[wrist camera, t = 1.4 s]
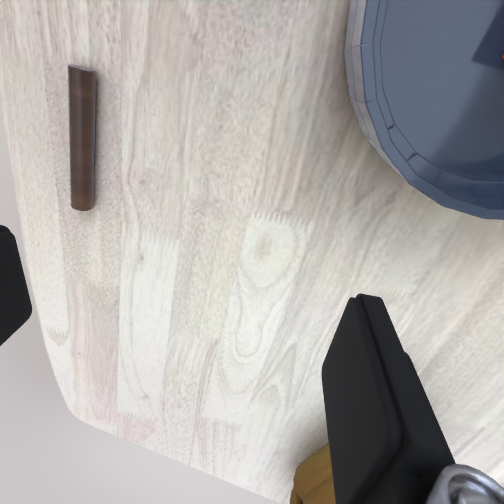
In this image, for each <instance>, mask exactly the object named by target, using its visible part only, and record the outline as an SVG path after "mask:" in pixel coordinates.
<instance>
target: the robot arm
mask: <svg viewBox="0 0 504 504" xmlns="http://www.w3.org/2000/svg"><path fill="white" fill-rule="evenodd" d="M31 313H32V305H31V301H30V297H29V293H28V289H27V285H26V280H25V276H24V272H23V268H22V264H21V260H20V257H19V252H18V248H17V243H16V240H15V237H14V235H13V234H12V233H11V232H10V230H9V229H8V228H7V227H5V226H2V225H0V346H1V345H2V344H3V343H4V342H5V341H6V340H7V339H8V338H9V337H10V336H11V335H12V334H13V333H14V332H16V330H18V329H19V328H20V327H21V326H22V325H23V324H24V323H25V322H26V321H27V320H28V319H29V317H30V315H31ZM322 385H323V394H324V403H325V412H326V421H327V430H328V439H329V448H330V457H331V466H332V475H333V484H334V493H335V502H336V504H504V488H502V487H501V486H500V485H499V484H498V483H497V482H496V481H495V480H494V479H492V478H490V477H489V476H487V475H486V474H484V473H483V472H481V471H480V470H477V469H475V468H472V467H470V466H467V465H461V464H456V463H455V461H454V459H453V456H452V454H451V452H450V449H449V447H448V445H447V442H446V440H445V438H444V435H443V433H442V431H441V428H440V426H439V424H438V421H437V419H436V417H435V414H434V412H433V410H432V407H431V405H430V403H429V400H428V398H427V396H426V393H425V391H424V389H423V386H422V384H421V382H420V379H419V377H418V375H417V372H416V370H415V368H414V365H413V363H412V361H411V359H410V357H409V355H408V354H407V353H405V352H404V350H403V348H402V345H401V343H400V341H399V338H398V336H397V333H396V331H395V329H394V326H393V324H392V321H391V319H390V317H389V314H388V312H387V309H386V307H385V305H384V302H383V300H382V298H380V297H376V296H371V295H365V294H358V295H357V296H356V298H353V297H351V298H350V299H349V300H348V302H347V305H346V307H345V310H344V312H343V315H342V317H341V320H340V322H339V325H338V327H337V330H336V332H335V335H334V338H333V340H332V343H331V345H330V348H329V350H328V353H327V355H326V358H325V360H324V363H323V366H322Z"/></svg>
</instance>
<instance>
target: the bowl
mask: <svg viewBox="0 0 504 504" xmlns="http://www.w3.org/2000/svg"><path fill="white" fill-rule="evenodd" d="M503 54H504V0H350V8H349V16H348V23H347V31H346V39H345V47H344V56H345V65H346V75H347V84H348V94H349V98H350V101H351V104H352V106H353V109H354V111H355V114H356V117H357V119H358V122H359V124H360V127H361V130H362V132H363V134H364V136H365V137H366V138H367V139H368V141H369V142H370V143H371V145H372V146H373V147H374V148H375V150H376V151H377V152H378V153H379V155H380V156H381V157H382V159H383V160H384V161H385V162H386V163H387V164H388V165H389V166H390V167H391V168H392V169H393V170H395V171H396V172H397V173H398V174H399V175H400V176H401V177H402V178H403V179H404V180H405V181H407V182H408V183H409V184H410V185H412V186H413V187H415V188H416V189H418V190H419V191H421V192H422V193H423V194H425V195H426V196H428V197H429V198H431V199H432V200H434V201H435V202H437V203H438V204H440V205H441V206H444V207H446V208H450V209H453V210H456V211H460V212H463V213H466V214H469V215H473V216H476V217H479V218H482V219H498V220H504V60H503V59H502V56H503Z"/></svg>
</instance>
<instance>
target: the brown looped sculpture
mask: <svg viewBox="0 0 504 504" xmlns="http://www.w3.org/2000/svg"><path fill="white" fill-rule="evenodd" d="M293 481H294V487H293V490H292V492H291V497H290V504H336V502H335V493H334V484H333V475H332V466H331V457H330V448H329V443H328V444H327V445H325V446H323V447H322V448H320V449H319V450H317V451H316V452H315V453H313V454H312V455H310V456H309V457H308V458H306V459H305V460H304V461H303V462H302V463H301V464H300V465H299V466H298V467H297V469H296V472H295V475H294V480H293Z"/></svg>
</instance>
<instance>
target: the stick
mask: <svg viewBox="0 0 504 504" xmlns="http://www.w3.org/2000/svg"><path fill="white" fill-rule="evenodd" d="M68 87H69V135H70V182H71V206H72V208H74V209H76V210H80V211H88V210H91V209H93V207H94V156H95V101H96V71H95V70H93V69H90V68H87V67H83V66H79V65H72V64H70V65H68Z"/></svg>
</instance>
